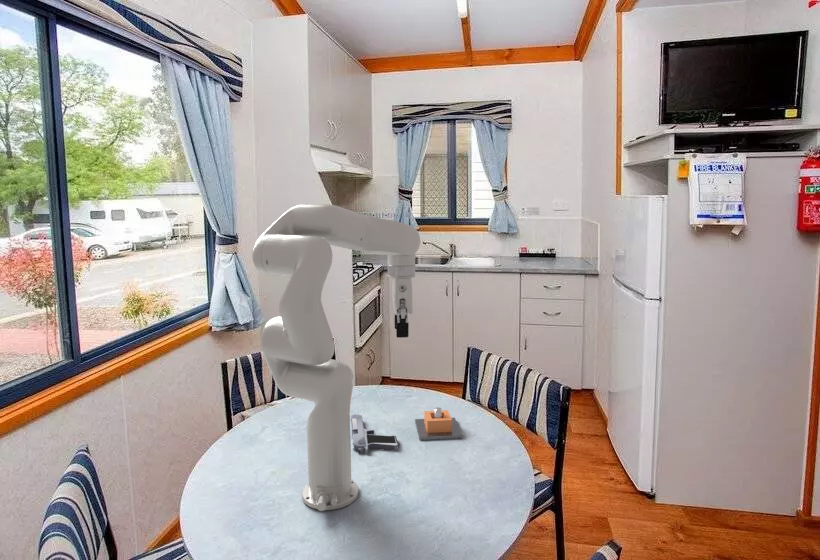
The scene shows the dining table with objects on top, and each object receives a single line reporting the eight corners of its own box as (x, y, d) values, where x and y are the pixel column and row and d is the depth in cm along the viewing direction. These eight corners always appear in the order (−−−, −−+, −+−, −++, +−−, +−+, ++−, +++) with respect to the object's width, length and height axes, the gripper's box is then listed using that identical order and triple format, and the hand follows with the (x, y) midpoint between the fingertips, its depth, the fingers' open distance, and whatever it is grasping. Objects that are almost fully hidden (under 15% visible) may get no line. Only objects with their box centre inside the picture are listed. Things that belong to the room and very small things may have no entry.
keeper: (462, 438, 148) (462, 416, 147) (419, 440, 147) (419, 418, 146) (454, 420, 160) (454, 400, 159) (415, 422, 158) (415, 401, 157)
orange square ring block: (452, 431, 150) (452, 420, 149) (427, 432, 149) (427, 421, 149) (447, 421, 157) (447, 410, 156) (424, 422, 156) (424, 411, 155)
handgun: (390, 412, 161) (350, 414, 160) (399, 446, 139) (353, 449, 138) (390, 419, 162) (350, 421, 160) (399, 454, 140) (353, 457, 138)
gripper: (418, 275, 136) (417, 340, 138) (412, 267, 153) (412, 325, 155) (388, 275, 135) (388, 341, 138) (386, 267, 152) (386, 326, 155)
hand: (401, 332), depth 146 cm, fingers open, 9 cm apart
